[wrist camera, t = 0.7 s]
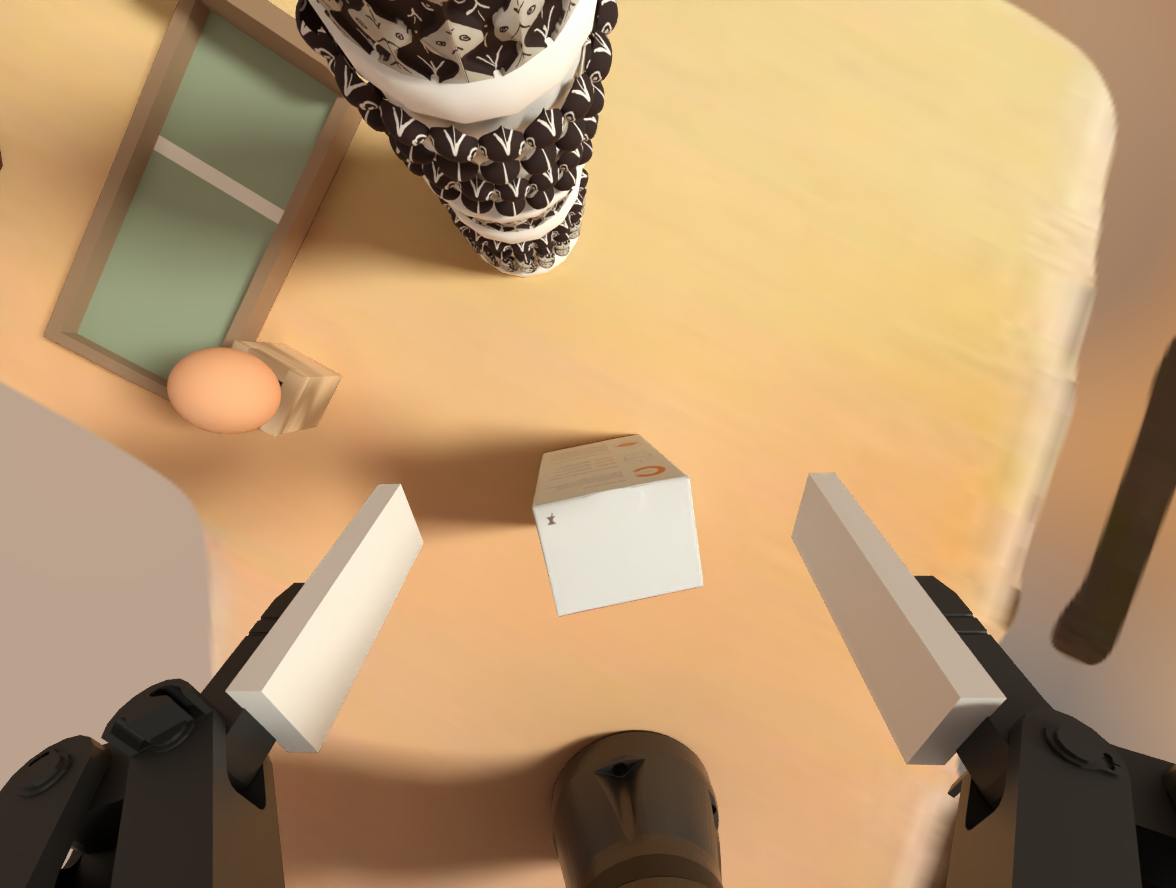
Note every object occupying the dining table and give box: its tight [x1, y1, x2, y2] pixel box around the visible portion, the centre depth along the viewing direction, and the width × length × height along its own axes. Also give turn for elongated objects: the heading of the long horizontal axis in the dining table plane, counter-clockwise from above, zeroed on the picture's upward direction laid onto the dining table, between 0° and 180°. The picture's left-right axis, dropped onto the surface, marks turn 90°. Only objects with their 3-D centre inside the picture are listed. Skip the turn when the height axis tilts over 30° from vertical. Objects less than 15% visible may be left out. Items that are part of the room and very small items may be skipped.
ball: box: [167, 347, 281, 434], centre depth 24 cm, size 5×5×5 cm
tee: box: [232, 340, 342, 436], centre depth 29 cm, size 4×4×5 cm
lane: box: [44, 0, 362, 401], centre depth 27 cm, size 25×11×4 cm, turn 149°
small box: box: [532, 434, 703, 617], centre depth 27 cm, size 8×6×13 cm
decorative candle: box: [295, 0, 618, 278], centre depth 18 cm, size 9×9×25 cm
